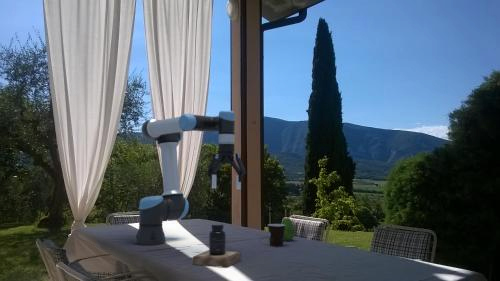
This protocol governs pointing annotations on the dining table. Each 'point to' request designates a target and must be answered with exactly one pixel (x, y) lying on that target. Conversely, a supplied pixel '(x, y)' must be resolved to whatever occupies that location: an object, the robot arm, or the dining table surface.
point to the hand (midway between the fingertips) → (226, 188)
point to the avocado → (288, 229)
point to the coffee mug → (276, 234)
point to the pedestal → (217, 259)
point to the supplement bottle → (217, 240)
